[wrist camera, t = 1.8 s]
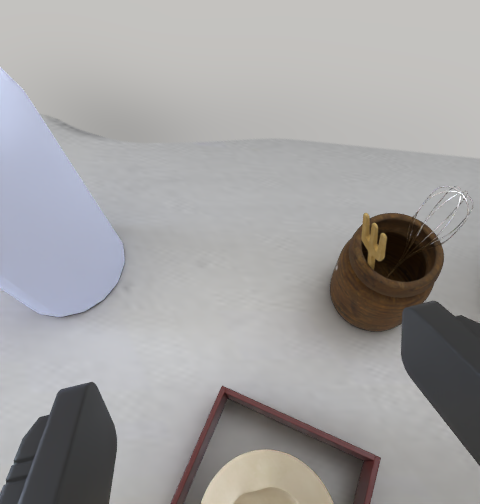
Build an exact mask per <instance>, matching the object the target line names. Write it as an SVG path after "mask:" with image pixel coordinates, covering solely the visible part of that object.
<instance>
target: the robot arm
mask: <svg viewBox="0 0 480 504" xmlns="http://www.w3.org/2000/svg"><path fill="white" fill-rule="evenodd" d="M401 356H402V361H403V364H404V367H405V369H406V371H407V373H408V375H409V376H410V378H411V379H412V380H413V382H414V383H415V384H416V385H417V387H418V388H419V389H420V390H421V392H422V393H423V394H424V396H425V397H426V398H427V399H428V401H429V402H430V403H431V404H432V406H433V407H434V408H435V410H436V411H437V412H438V413H439V415H440V416H441V417H442V418H443V420H444V421H445V422H446V424H447V425H448V426H449V427H450V429H451V430H452V431H453V432H454V434H455V435H456V436H457V438H458V439H459V440H460V441H461V443H462V444H463V445H464V446H465V448H466V449H467V450H468V452H469V453H470V454H471V455H472V457H473V458H474V459H475V461H476V462H477V463H478V464H479V466H480V324H479V323H477V322H475V321H473V320H470V319H468V318H466V317H464V316H462V315H460V316H456V317H455V316H454V315H452V314H451V313H450V312H449V311H448V310H447V309H445V308H444V307H443V306H442V305H441V304H439V303H438V302H436V301H430V302H426V303H422V304H418V305H414V306H410V307H406V308H404V310H403V313H402V339H401ZM116 452H117V436H116V430H115V426H114V423H113V421H112V419H111V416H110V414H109V412H108V410H107V408H106V405H105V403H104V401H103V399H102V396H101V394H100V392H99V390H98V388H97V386H96V384H95V383H93V382H90V383H85V384H81V385H77V386H73V387H69V388H65V389H61V390H60V391H59V392H58V393H57V396H56V398H55V401H54V404H53V407H52V410H51V412H50V415H47V416H43V417H39V419H38V420H37V421H36V422H35V424H34V425H33V426H32V427H31V429H30V430H29V431H28V433H27V434H26V435H25V436H24V438H23V439H22V442H21V444H20V447H19V449H18V452H17V454H16V456H15V459H14V465H12V466H11V469H10V471H9V474H8V476H7V478H6V485H4V486H3V488H2V491H1V493H0V504H109V499H110V493H111V486H112V479H113V472H114V465H115V459H116Z"/></svg>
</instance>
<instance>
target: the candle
mask: <svg viewBox="0 0 480 504" xmlns="http://www.w3.org/2000/svg"><path fill="white" fill-rule="evenodd" d="M201 504H334V503H333V501H332V499H331V496H330V494H329V492H328V491H327V489H326V487H325V485H324V484H323V482H322V481H321V480H320V478H319V477H318V476H317V475H316V474H315V472H314V471H313V470H312V469H311V468H309V467H308V466H307V465H306V464H305V463H303V462H302V461H300V460H299V459H297V458H296V457H294V456H292V455H290V454H287V453H284V452H281V451H276V450H266V449H262V450H254V451H250V452H247V453H244V454H242V455H239V456H237V457H236V458H234V459H232V460H231V461H229V462H228V463H227V464H226V465H225V466H223V467H222V468H221V470H220V471H219V472H218V473H217V474H216V475H215V477H214V478H213V479H212V481H211V482H210V484H209V486H208V488H207V490H206V492H205V494H204V496H203V499H202V502H201Z"/></svg>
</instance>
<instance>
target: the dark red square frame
mask: <svg viewBox="0 0 480 504" xmlns="http://www.w3.org/2000/svg"><path fill="white" fill-rule="evenodd" d="M227 399H230V400H232V401H235V402H237V403H239V404H241V405H243V406H245V407H248V408H250V409H252V410H254V411H256V412H258V413H261V414H263V415H265V416H267V417H269V418H271V419H274V420H276V421H278V422H280V423H282V424H284V425H287V426H289V427H291V428H293V429H295V430H298V431H300V432H302V433H304V434H306V435H308V436H311V437H313V438H315V439H317V440H319V441H321V442H324V443H326V444H328V445H330V446H332V447H334V448H337V449H339V450H341V451H343V452H345V453H347V454H350V455H352V456H354V457H356V458H358V459H361V460H363V461H364V462H363V466H362V470H361V474H360V478H359V482H358V486H357V490H356V494H355V498H354V502H353V504H370V502H371V498H372V493H373V489H374V485H375V480H376V476H377V472H378V468H379V463H380V459H381V458H380V457H378V456H375V455H374V454H372V453H369V452H367V451H365V450H363V449H361V448H358V447H356V446H354V445H352V444H350V443H347V442H345V441H343V440H341V439H339V438H336V437H334V436H332V435H330V434H327V433H325V432H323V431H321V430H319V429H316V428H314V427H312V426H310V425H308V424H305V423H303V422H301V421H299V420H297V419H294V418H292V417H290V416H288V415H286V414H283V413H281V412H279V411H277V410H275V409H272V408H270V407H268V406H266V405H264V404H261V403H259V402H257V401H255V400H252V399H250V398H248V397H246V396H244V395H241V394H239V393H237V392H235V391H233V390H230V389H228V388H226V387H224V386H222V387H221V389H220V392H219V394H218V396H217V398H216V401H215V403H214V405H213V408H212V410H211V412H210V414H209V417H208V419H207V421H206V424H205V426H204V428H203V431H202V433H201V435H200V437H199V440H198V442H197V444H196V447H195V449H194V451H193V453H192V456H191V458H190V460H189V463H188V465H187V467H186V469H185V472H184V474H183V476H182V479H181V481H180V483H179V485H178V488H177V490H176V492H175V495H174V497H173V499H172V502H171V504H183V503H184V501H185V498H186V496H187V493H188V491H189V489H190V486H191V484H192V482H193V479H194V477H195V475H196V472H197V470H198V468H199V465H200V463H201V460H202V458H203V456H204V453H205V451H206V449H207V446H208V444H209V442H210V439H211V437H212V434H213V432H214V430H215V427H216V425H217V423H218V420H219V418H220V416H221V413H222V411H223V409H224V406H225V404H226V401H227Z"/></svg>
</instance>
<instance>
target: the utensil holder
mask: <svg viewBox="0 0 480 504" xmlns="http://www.w3.org/2000/svg"><path fill="white" fill-rule="evenodd" d="M441 187H451V186H441ZM441 187H439V188H441ZM454 187H458V188H459V190H460V187H459V186H454ZM454 187H451V189H452V188H453V189H455V190H457V189H456V188H454ZM439 188H437V189H439ZM437 189H435V190H437ZM451 189H450V190H451ZM435 190H434V191H435ZM450 190H449V191H444V192H447V193H448V192H457V191H458V190H457V191H450ZM434 191H433V192H434ZM433 192H432V193H433ZM463 192H467V191H463ZM463 192H461V190H460V191H458V192H457V193H458V194H460V199H461V195H462V196H463V197H464V195H466V196H467V197H469V196H468V195H467V194H468V192H467V194H464V193H463ZM432 193H431V194H432ZM440 193H443V192H440ZM447 193H446V194H447ZM431 194H430V195H431ZM437 194H439V193H437ZM437 194H435V195H437ZM446 194H445V195H446ZM458 194H456V195H458ZM463 194H464V195H463ZM430 195H429V196H428V198H427V199H426V200H425V201H424V202H423V204H422V205H421V206H420V208H421V207H422V206H423V205H424V204H425V203H426V202H427V201H428V200H429V199H430V198H431V197H433V196H435V195H433V196H431V197H430ZM445 195H444V196H445ZM456 195H454V196H456ZM444 196H443V197H442V199H443V198H444ZM454 196H452V197H451V198H453V197H454ZM466 196H465V197H464V199H465V200H466ZM429 197H430V198H429ZM451 198H449V199H448V200H450V199H451ZM469 198H470V197H469ZM442 199H441V200H442ZM460 199H459V203H460ZM464 199H463V200H464ZM470 199H471V198H470ZM441 200H440V201H441ZM448 200H447V201H448ZM463 200H462V201H461V203H462V202H463ZM440 201H439V202H440ZM447 201H445V202H444V203H446V202H447ZM471 201H472V199H471ZM439 202H438V203H439ZM438 203H437V205H438ZM444 203H443V204H444ZM459 203H458V206H459V205H460V204H461V203H460V204H459ZM466 203H467V207H468V213H469V206H468V202H467V200H466ZM443 204H442V205H443ZM437 205H436V206H437ZM442 205H440V206H439V207H438V208H437V209H439V208H440V207H441V206H442ZM436 206H435V207H436ZM458 206H457V207H456V208H455V210H456V211H457V209H458ZM435 207H434V208H435ZM420 208H419V209H418V211H419V210H420ZM434 208H433V210H434ZM437 209H436V210H437ZM433 210H432V211H433ZM436 210H435V211H436ZM455 210H454V211H455ZM472 210H473V201H472V209H471V211H470V213H471V212H472ZM418 211H417V212H416V213H418ZM432 211H431V213H432ZM435 211H434V212H435ZM454 211H453V212H454ZM456 211H455V213H456ZM434 212H433V213H432V214H431V213H430V214H431V216H432V215H433V214H434ZM453 212H452V213H453ZM416 213H415V215H416V216H417V214H416ZM452 213H451V214H452ZM455 213H454V215H455ZM468 213H467V217H468V216H469V214H470V213H469V214H468ZM430 214H429V216H430ZM451 214H450V215H451ZM415 215H414V216H415ZM450 215H449V216H450ZM454 215H453V216H452V218H453V217H454ZM414 216H413V217H410V216H407V215H404V214H398V213H386V214H380V215H377V216H374V217H372V218H370V217H369V215H368V214H367V213H364V215H363V224H362V225H361V226H360V227H359V228H358V230H357V231H356V232H355V234H354V235H353V237H352V238H351V239H350V240H349V241H348V242H347V244H346V245H345V246H344V248H343V250H342V252H341V254H340V256H339V258H338V261H337V263H336V266H335V269H334V271H333V275H332V278H331V284H330V293H331V298H332V302H333V304H334V306H335V308H336V310H337V311H338V313H339V314H340V315H341V316H342V317H343V318H344V319H345V320H346V321H347V322H349V323H350V324H352V325H354V326H356V327H358V328H360V329H364V330H368V331H385V330H389V329H392V328H394V327H396V326H398V325H400V324H401V323H402V313H403V310H404V308H406V307H410V306H414V305H418V304H422V303H423V302H424V301H425V300H426V299H427V297H428V296H429V294H430V292H431V290H432V288H433V285H434V282H435V281H436V280H437V278H438V276H439V274H440V272H441V269H442V266H443V261H444V253H443V248H442V245H441V244H443V243H445V242H446V241H448V240H449V239H450V238H451V237H452V236H453V235H454V234H455V233H456V232H457V231H458V230H459V229H460V228H461V227H462V225H463V224H464V223H465V222H466V220H467V217H466V218H465V219H466V220H465V219H464V220H465V221H464V220H463V221H464V223H463V224H462V225H461V223H462V222H463V221H462V222H461V223H460V224H459V225H458V226H457V227H456V228H455V229H457V228H458V227H459V226H460V225H461V226H460V227H459V229H458V230H457V231H456V232H455V233H454V234H453V235H452V236H451V237H450V238H449V239H448V240H446V241H445V242H443V243H440V241H439V240H440V239H438V237H437V236H438V235H439V234H440V233H441V232H442V231H443V229H444V228H445V227H446V226H447V225H448V224H449V222H450V221H451V220H452V218H451V219H450V221H449V222H448V223H447V225H446V226H445V227H444V228H443V229H442V230H441V231H440V233H439V234H438V235H437V236H436V234H435V233H434V231H435V230H436V229H437V228H438V227H439V226H440V225H441V224H442V223H443V222H444V221H445V220H446V219H447V218H448V217H449V216H448V217H447V218H446V219H445V220H444V221H443V222H442V223H441V224H440V225H439V226H438V227H437V228H436V229H435V230H434V231H432V230H431V229H430V228H429V227H428V226H427V225H425V223H426V222H427V220H428V219H429V218H430V217H431V216H430V217H429V216H428V217H429V218H428V217H427V219H426V220H425V222H424V223H423V222H421V221H419V220H417V219H415V218H416V216H415V218H414ZM455 229H454V230H455ZM454 230H453V231H454ZM453 231H452V232H453ZM452 232H450V233H452ZM450 233H449V234H450ZM449 234H447V235H449ZM447 235H446V236H447ZM446 236H444V237H446ZM444 237H442V238H444ZM442 238H441V239H442Z"/></svg>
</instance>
